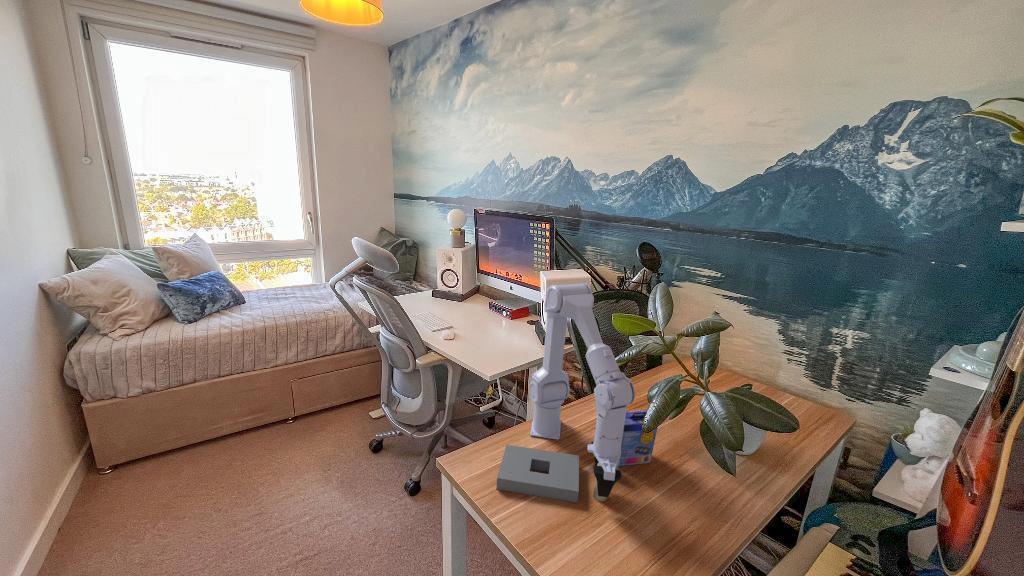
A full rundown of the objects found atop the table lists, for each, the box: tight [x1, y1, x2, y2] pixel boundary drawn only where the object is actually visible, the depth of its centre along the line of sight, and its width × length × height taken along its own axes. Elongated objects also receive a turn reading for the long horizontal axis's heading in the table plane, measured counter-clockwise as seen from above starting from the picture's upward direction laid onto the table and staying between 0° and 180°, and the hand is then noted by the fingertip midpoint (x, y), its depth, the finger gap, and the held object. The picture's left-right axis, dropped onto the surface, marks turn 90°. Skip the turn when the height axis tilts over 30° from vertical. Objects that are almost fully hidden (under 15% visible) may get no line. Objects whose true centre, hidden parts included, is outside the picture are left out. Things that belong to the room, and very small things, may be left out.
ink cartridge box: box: [619, 409, 659, 467], centre depth 103 cm, size 10×6×14 cm, turn 103°
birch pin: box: [592, 463, 608, 503], centre depth 91 cm, size 3×3×8 cm
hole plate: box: [496, 444, 580, 504], centre depth 96 cm, size 12×18×3 cm, turn 81°
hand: (601, 484), depth 91 cm, fingers open, 6 cm apart
